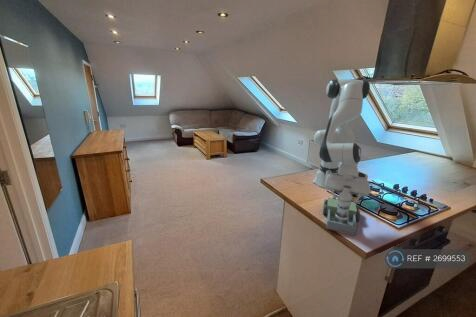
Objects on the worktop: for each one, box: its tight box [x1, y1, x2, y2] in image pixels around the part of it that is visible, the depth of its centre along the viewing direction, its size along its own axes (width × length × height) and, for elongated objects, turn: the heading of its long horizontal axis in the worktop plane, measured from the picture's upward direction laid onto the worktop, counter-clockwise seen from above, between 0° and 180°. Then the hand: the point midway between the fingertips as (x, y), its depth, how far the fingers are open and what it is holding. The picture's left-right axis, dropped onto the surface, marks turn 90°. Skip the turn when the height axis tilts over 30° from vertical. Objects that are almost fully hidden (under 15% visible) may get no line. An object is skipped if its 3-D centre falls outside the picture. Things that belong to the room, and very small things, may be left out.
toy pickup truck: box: [322, 197, 361, 236], centre depth 115 cm, size 23×17×6 cm
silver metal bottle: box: [334, 185, 354, 224], centre depth 108 cm, size 6×7×20 cm
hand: (344, 200), depth 107 cm, fingers open, 8 cm apart
